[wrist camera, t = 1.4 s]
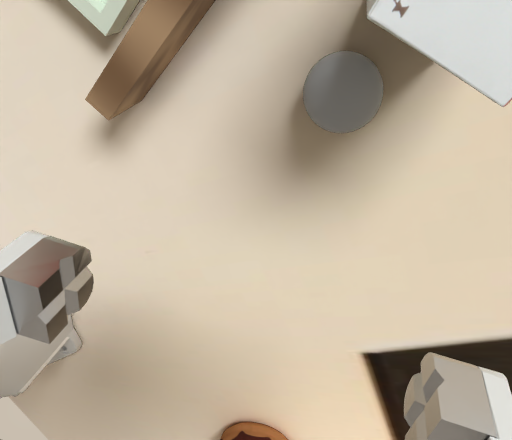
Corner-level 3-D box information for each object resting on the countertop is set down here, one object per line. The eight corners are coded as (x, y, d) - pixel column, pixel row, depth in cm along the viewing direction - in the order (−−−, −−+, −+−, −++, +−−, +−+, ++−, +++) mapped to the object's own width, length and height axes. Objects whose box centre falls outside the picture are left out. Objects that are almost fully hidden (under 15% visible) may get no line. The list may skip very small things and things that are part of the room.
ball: (341, 133, 30) (336, 160, 26) (293, 83, 29) (280, 103, 25) (398, 84, 28) (403, 105, 24) (347, 27, 27) (343, 39, 22)
